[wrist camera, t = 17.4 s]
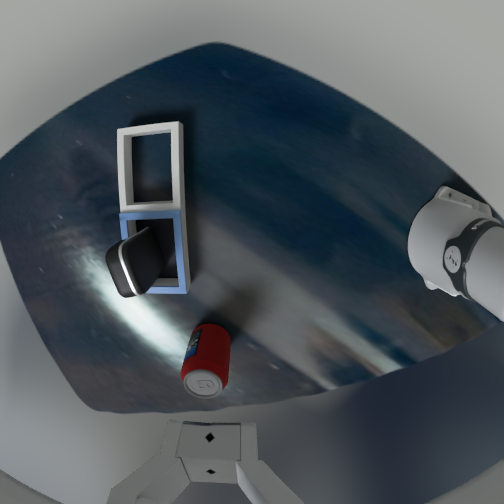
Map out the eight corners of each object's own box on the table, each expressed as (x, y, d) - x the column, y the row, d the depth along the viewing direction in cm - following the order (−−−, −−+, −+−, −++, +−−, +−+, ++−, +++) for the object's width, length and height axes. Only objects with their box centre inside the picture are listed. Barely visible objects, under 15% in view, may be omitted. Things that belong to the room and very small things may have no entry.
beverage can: (188, 321, 45) (173, 367, 34) (228, 319, 45) (224, 366, 34) (195, 353, 47) (184, 401, 36) (233, 352, 47) (230, 401, 36)
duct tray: (183, 124, 36) (177, 120, 33) (190, 284, 43) (186, 293, 40) (125, 131, 36) (115, 128, 33) (137, 283, 43) (130, 292, 40)
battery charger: (131, 231, 41) (97, 253, 30) (152, 223, 41) (122, 244, 30) (146, 272, 43) (118, 305, 32) (167, 266, 43) (144, 299, 32)
